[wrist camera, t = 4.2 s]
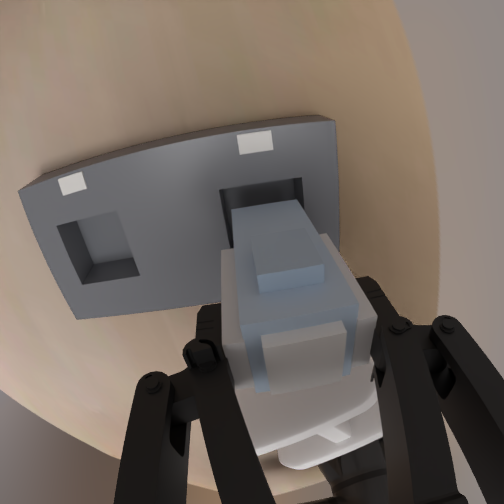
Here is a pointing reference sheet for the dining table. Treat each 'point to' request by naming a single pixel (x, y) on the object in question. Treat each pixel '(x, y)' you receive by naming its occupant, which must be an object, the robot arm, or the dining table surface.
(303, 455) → the cable organizer
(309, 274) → the plug
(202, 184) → the socket panel
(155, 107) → the dining table surface
